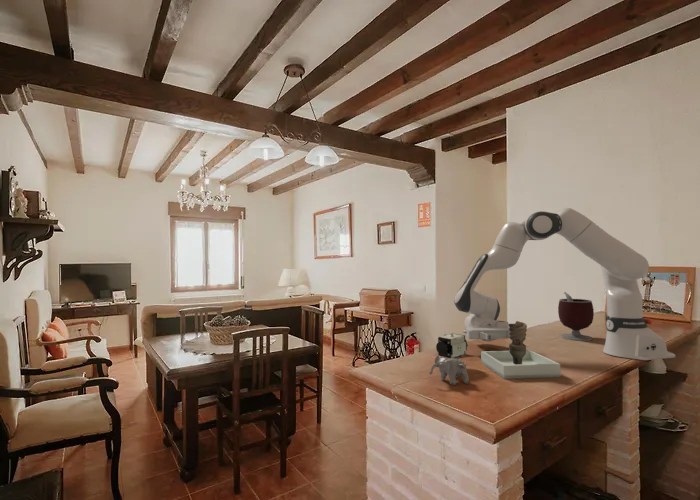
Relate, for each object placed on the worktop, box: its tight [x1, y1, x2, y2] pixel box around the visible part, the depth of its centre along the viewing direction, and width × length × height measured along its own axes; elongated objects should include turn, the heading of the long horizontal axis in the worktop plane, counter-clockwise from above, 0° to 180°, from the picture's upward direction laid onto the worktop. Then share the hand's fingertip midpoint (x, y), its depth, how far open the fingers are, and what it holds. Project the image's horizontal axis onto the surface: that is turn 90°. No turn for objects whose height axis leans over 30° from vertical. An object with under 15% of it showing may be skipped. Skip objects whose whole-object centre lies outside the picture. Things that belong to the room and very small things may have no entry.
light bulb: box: [508, 320, 528, 365], centre depth 128 cm, size 6×6×15 cm
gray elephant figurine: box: [429, 355, 470, 386], centre depth 115 cm, size 9×12×8 cm
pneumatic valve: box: [435, 332, 468, 360], centre depth 130 cm, size 6×12×12 cm, turn 130°
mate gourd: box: [557, 291, 595, 342], centre depth 175 cm, size 16×14×20 cm
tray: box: [480, 349, 562, 380], centre depth 128 cm, size 18×18×4 cm
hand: (501, 336), depth 140 cm, fingers open, 8 cm apart
